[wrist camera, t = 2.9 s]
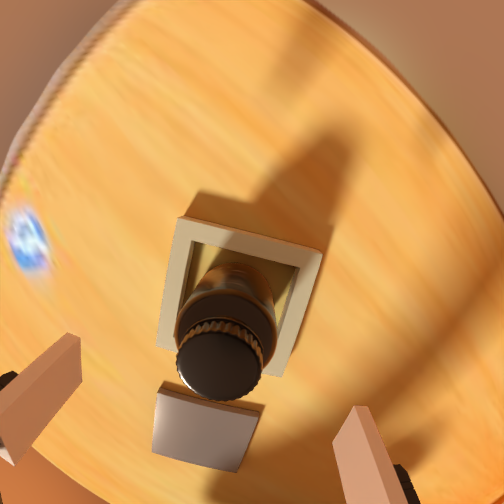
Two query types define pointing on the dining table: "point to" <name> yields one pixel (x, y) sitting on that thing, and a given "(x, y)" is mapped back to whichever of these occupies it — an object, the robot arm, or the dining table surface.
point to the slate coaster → (201, 431)
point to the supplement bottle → (226, 333)
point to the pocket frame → (248, 244)
